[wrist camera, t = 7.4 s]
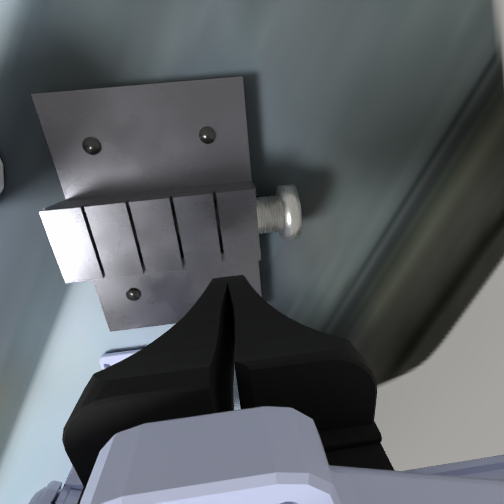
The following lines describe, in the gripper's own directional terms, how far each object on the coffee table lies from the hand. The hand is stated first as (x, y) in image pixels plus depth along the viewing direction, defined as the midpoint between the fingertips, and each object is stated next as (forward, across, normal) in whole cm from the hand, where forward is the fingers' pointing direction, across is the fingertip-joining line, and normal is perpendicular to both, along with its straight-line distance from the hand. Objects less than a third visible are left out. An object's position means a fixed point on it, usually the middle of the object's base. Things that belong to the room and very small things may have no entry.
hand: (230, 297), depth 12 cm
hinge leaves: (+10, +4, -1) cm, 11 cm away
